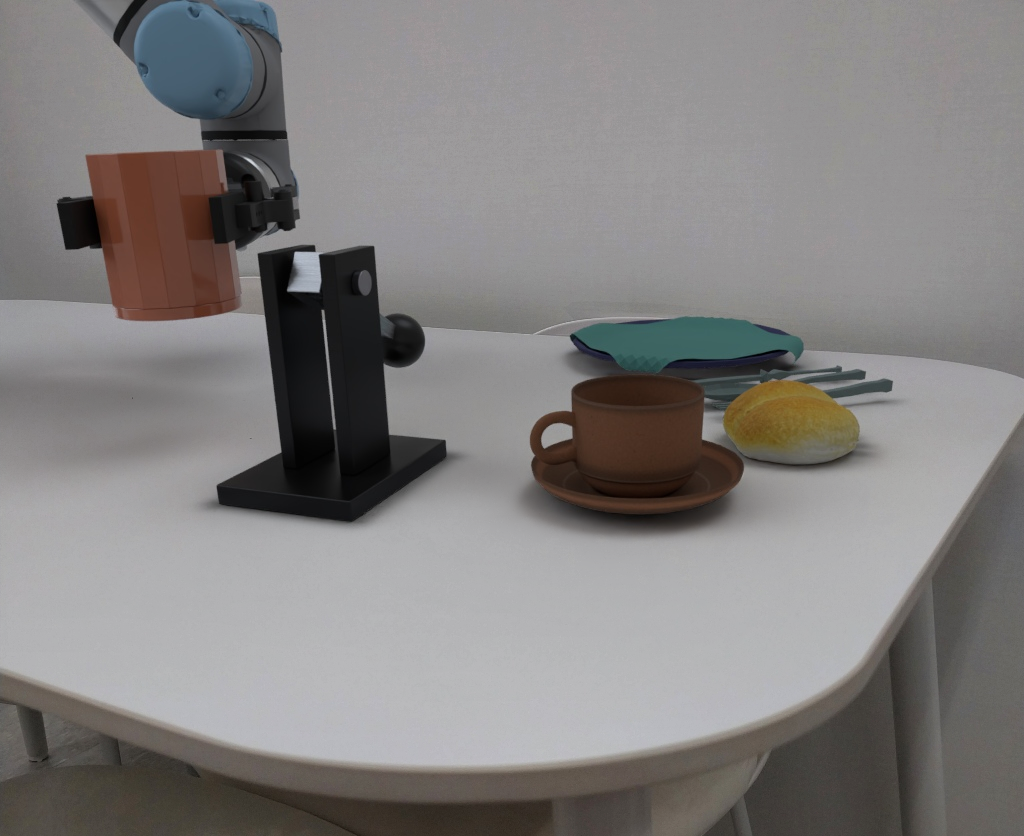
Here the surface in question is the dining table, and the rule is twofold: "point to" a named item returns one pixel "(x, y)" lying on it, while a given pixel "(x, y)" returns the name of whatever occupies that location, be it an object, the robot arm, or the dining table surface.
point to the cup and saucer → (634, 448)
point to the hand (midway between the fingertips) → (142, 223)
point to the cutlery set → (710, 353)
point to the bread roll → (790, 424)
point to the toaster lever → (397, 330)
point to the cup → (163, 234)
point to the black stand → (328, 397)
